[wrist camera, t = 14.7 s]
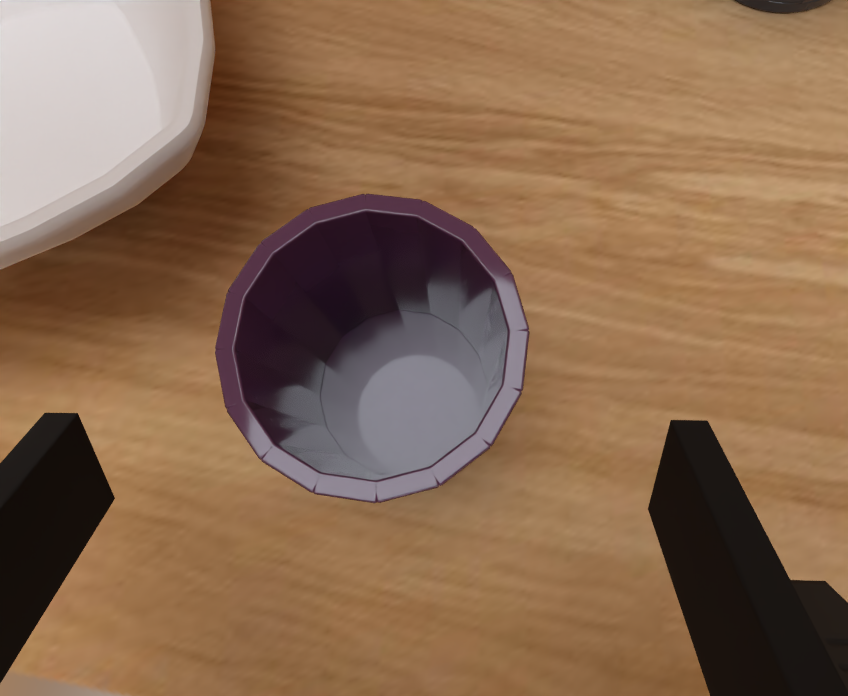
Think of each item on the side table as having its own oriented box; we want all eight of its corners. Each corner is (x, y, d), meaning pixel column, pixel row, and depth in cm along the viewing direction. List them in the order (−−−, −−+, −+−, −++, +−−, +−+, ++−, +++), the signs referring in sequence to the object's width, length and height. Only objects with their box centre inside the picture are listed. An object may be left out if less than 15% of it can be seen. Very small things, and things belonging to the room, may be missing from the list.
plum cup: (531, 360, 24) (583, 284, 14) (437, 525, 23) (425, 564, 13) (374, 271, 25) (323, 146, 16) (277, 426, 24) (156, 395, 14)
